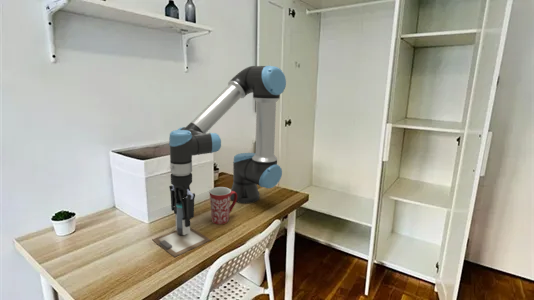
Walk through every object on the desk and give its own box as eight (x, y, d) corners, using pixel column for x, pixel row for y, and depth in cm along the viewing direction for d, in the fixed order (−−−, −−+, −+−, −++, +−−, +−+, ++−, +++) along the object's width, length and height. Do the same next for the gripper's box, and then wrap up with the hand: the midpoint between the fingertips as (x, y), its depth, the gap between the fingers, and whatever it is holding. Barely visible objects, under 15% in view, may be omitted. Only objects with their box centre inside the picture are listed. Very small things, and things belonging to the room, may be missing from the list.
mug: (215, 227, 118) (215, 196, 115) (205, 218, 125) (205, 189, 122) (242, 219, 126) (242, 190, 123) (231, 212, 133) (231, 184, 130)
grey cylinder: (184, 229, 115) (183, 200, 112) (190, 232, 112) (189, 203, 109) (175, 232, 112) (174, 203, 109) (181, 236, 109) (180, 207, 106)
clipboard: (187, 226, 118) (187, 223, 118) (210, 240, 109) (210, 237, 109) (152, 240, 107) (152, 236, 107) (174, 257, 98) (174, 253, 98)
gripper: (159, 169, 109) (162, 226, 114) (185, 181, 98) (187, 243, 103) (177, 165, 114) (179, 220, 120) (204, 176, 103) (204, 236, 109)
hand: (182, 231), depth 112 cm, fingers closed on grey cylinder, 4 cm apart
